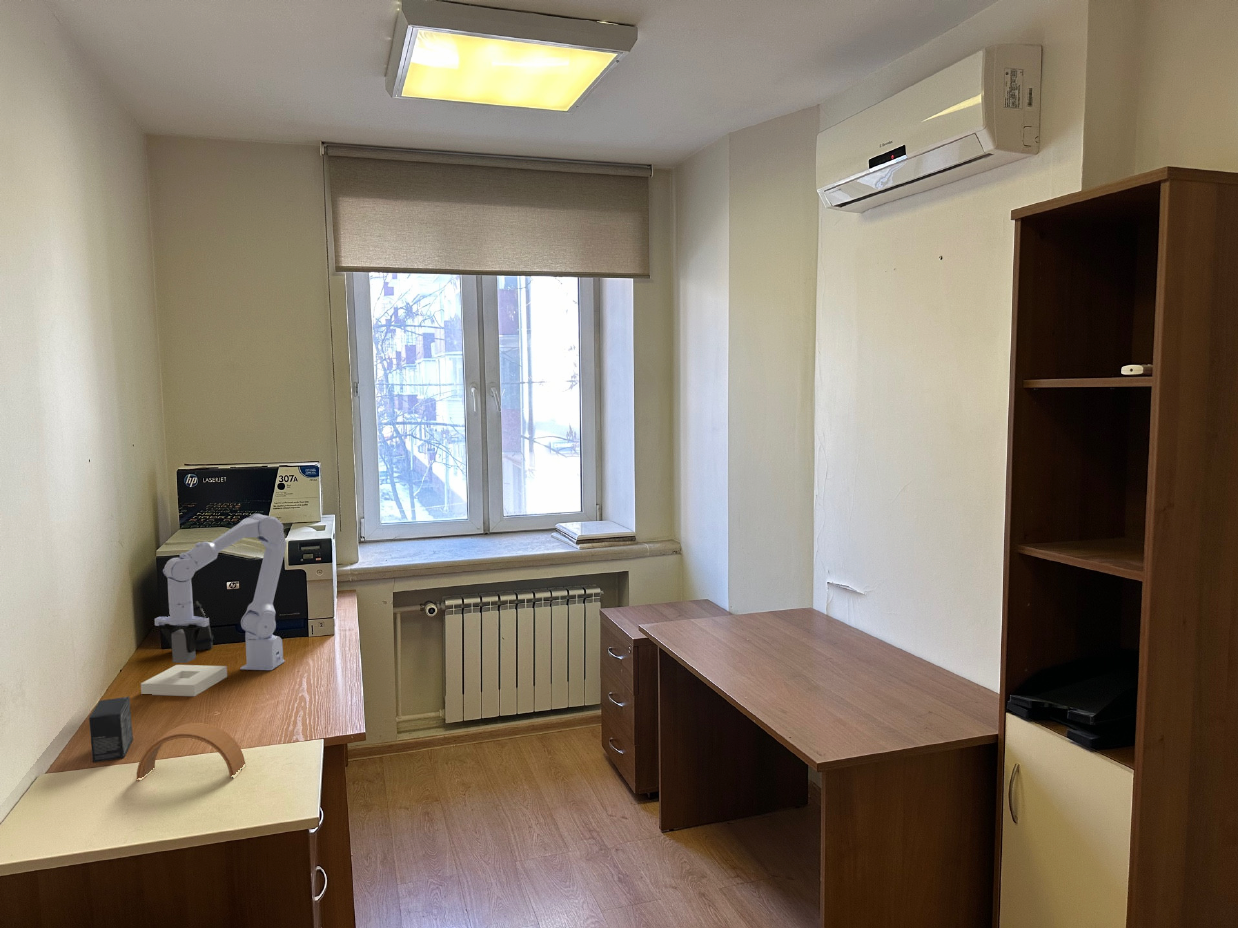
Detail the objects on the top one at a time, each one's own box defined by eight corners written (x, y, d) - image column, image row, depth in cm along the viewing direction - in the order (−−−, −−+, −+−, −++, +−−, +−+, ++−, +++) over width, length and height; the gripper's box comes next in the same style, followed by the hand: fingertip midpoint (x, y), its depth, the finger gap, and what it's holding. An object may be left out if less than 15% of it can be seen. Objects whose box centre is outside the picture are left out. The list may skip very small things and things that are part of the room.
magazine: (222, 643, 260) (197, 602, 257) (181, 665, 257) (154, 624, 254) (224, 639, 264) (198, 599, 261) (183, 661, 261) (157, 621, 257)
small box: (101, 743, 191) (98, 699, 190) (133, 739, 194) (131, 695, 193) (90, 763, 181) (87, 716, 180) (124, 758, 184) (121, 712, 183)
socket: (227, 676, 235) (226, 666, 235) (194, 696, 220) (194, 685, 220) (177, 674, 237) (176, 664, 237) (141, 694, 222) (140, 683, 222)
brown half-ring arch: (233, 779, 174) (231, 732, 173) (136, 781, 173) (133, 734, 172) (245, 766, 179) (243, 721, 178) (151, 768, 179) (148, 723, 178)
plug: (195, 657, 230) (194, 629, 229) (186, 662, 226) (185, 633, 225) (182, 657, 230) (180, 629, 230) (172, 662, 226) (171, 633, 226)
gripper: (145, 605, 224) (148, 655, 225) (196, 606, 222) (199, 656, 223) (163, 598, 230) (165, 647, 232) (212, 600, 229) (215, 648, 230)
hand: (183, 651), depth 228 cm, fingers closed on plug, 4 cm apart
